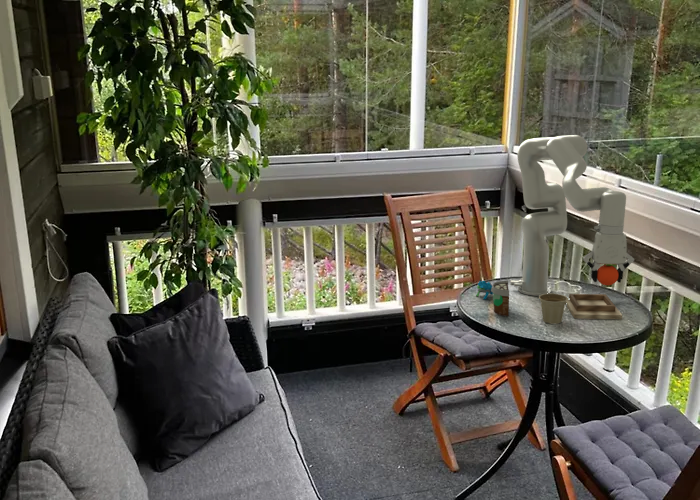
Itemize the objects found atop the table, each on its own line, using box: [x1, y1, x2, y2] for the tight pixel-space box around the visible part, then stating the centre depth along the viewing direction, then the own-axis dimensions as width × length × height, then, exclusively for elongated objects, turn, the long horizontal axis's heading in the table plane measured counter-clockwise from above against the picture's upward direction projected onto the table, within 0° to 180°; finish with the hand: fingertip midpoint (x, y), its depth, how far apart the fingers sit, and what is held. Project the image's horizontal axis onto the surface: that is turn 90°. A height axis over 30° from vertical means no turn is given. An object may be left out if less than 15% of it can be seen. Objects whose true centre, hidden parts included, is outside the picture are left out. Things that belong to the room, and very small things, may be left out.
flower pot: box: [538, 292, 568, 325], centre depth 214 cm, size 9×9×9 cm
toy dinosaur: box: [475, 280, 493, 301], centre depth 240 cm, size 11×6×10 cm
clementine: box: [597, 264, 619, 286], centre depth 208 cm, size 8×7×7 cm
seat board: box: [566, 293, 623, 320], centre depth 225 cm, size 16×20×4 cm
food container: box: [491, 280, 510, 317], centre depth 225 cm, size 12×6×10 cm, turn 168°
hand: (606, 280), depth 208 cm, fingers closed on clementine, 7 cm apart
